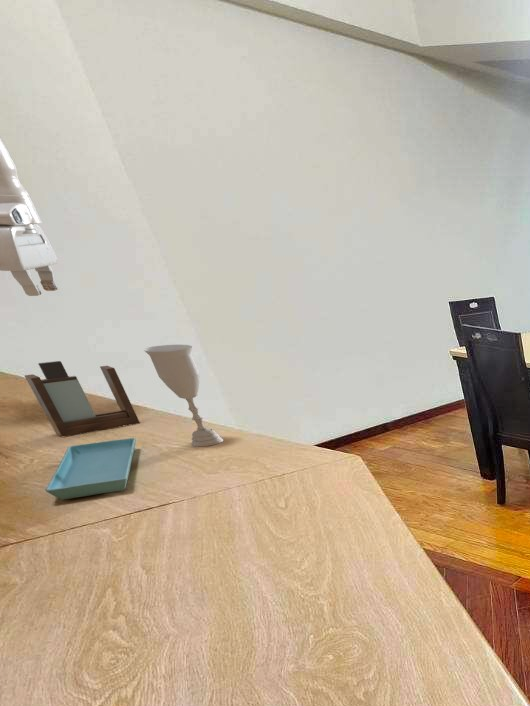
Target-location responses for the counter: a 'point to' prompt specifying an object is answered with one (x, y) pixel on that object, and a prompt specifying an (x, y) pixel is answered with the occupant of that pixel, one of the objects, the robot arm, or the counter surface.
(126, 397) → the window frame
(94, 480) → the shallow long dish
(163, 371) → the chalice
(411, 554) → the counter surface
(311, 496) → the counter surface
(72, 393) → the window pane
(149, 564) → the counter surface
